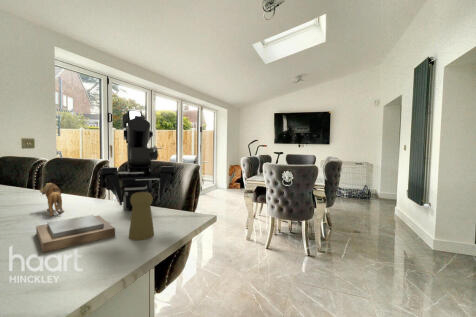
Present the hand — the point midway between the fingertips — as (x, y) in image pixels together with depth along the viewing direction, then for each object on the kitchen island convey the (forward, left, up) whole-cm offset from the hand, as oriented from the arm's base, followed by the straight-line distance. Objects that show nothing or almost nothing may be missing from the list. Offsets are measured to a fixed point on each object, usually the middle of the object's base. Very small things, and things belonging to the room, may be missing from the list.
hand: (141, 202), depth 60 cm
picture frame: (+12, -11, -8) cm, 18 cm away
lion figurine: (+13, -39, -8) cm, 42 cm away
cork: (0, 0, -8) cm, 8 cm away
